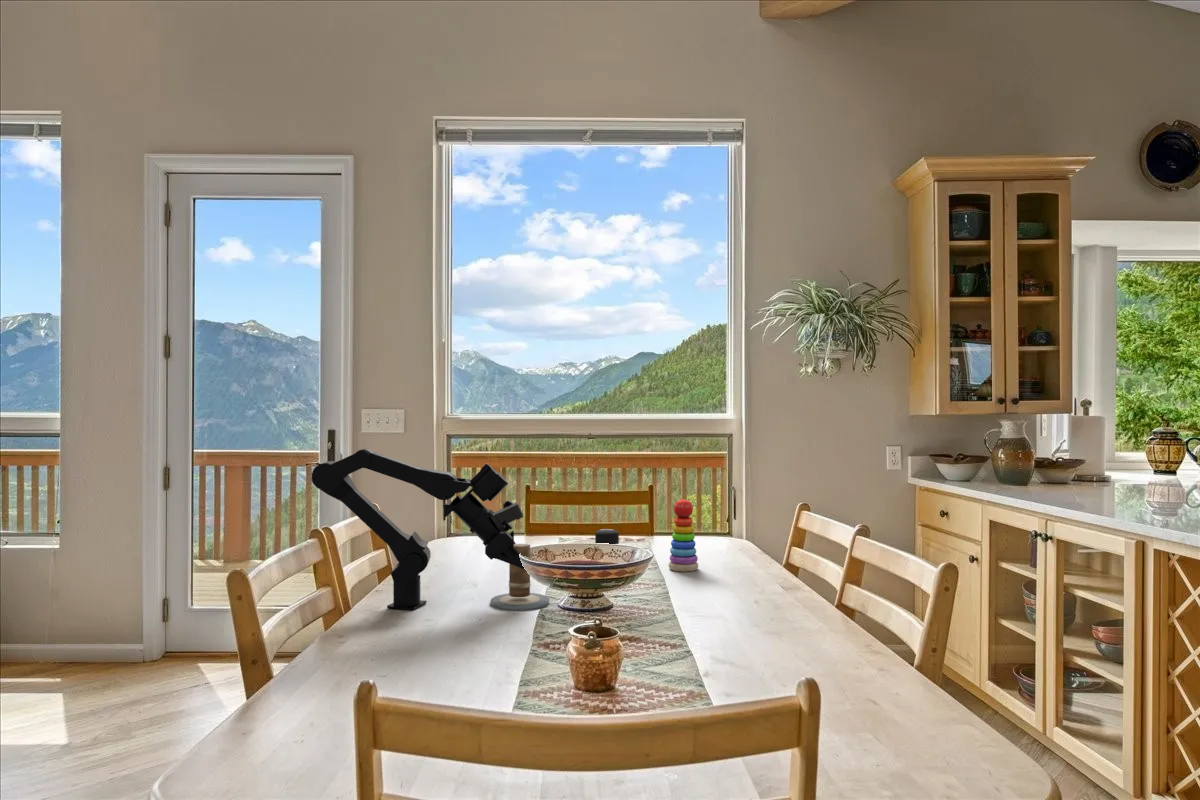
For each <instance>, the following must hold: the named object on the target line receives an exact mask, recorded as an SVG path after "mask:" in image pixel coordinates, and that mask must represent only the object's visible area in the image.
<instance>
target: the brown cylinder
mask: <svg viewBox="0 0 1200 800" xmlns="http://www.w3.org/2000/svg"><path fill="white" fill-rule="evenodd" d="M514 547H515V549H516V550H517V551H518V553H519V554H520V553H521V555H523V556H526V557H529V558H530V559H531V544H528V543H516V544H514ZM508 564H509V563H508ZM508 567H509V571H508V573H509V574H508V577H509V578H508V579H509V580H508V589H509V591H508V593H509V596H511V597H527V596H529V595H530V593H531V574H530V575H529V574H528V573H527V571H526V570H525V569H522V568H520V567H517V566H514V565H512V564H509V566H508Z"/></svg>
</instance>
